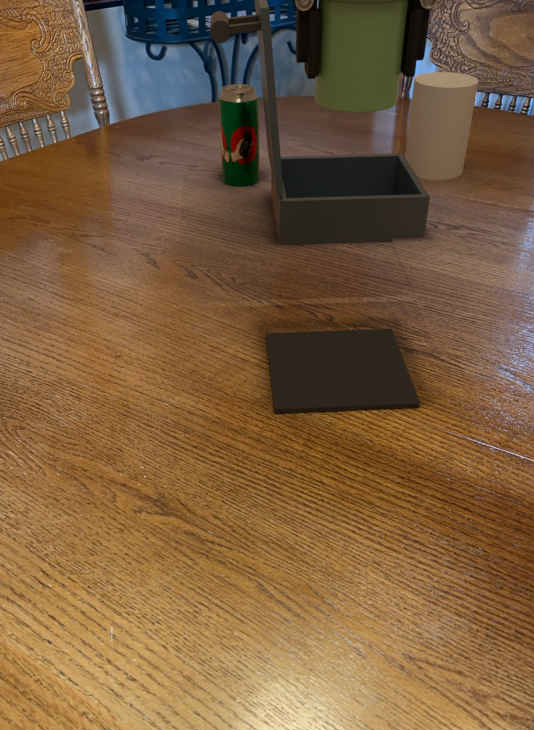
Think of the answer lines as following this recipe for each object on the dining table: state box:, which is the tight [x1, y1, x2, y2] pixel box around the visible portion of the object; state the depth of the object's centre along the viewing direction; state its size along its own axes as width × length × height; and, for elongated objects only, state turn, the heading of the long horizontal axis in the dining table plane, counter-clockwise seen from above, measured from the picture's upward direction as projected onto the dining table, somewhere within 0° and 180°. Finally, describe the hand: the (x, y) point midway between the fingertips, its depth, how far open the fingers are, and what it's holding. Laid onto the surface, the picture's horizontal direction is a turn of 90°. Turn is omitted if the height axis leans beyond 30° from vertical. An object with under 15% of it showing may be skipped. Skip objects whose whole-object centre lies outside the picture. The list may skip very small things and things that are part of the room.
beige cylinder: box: [404, 71, 479, 181], centre depth 94 cm, size 8×8×12 cm
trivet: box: [265, 328, 421, 415], centre depth 62 cm, size 12×12×1 cm
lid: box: [209, 0, 284, 197], centre depth 76 cm, size 17×15×6 cm
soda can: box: [218, 83, 261, 188], centre depth 92 cm, size 5×5×12 cm
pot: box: [314, 0, 409, 113], centre depth 49 cm, size 7×7×7 cm
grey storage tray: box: [270, 153, 431, 246], centre depth 84 cm, size 17×15×6 cm
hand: (358, 70), depth 50 cm, fingers closed on pot, 6 cm apart
